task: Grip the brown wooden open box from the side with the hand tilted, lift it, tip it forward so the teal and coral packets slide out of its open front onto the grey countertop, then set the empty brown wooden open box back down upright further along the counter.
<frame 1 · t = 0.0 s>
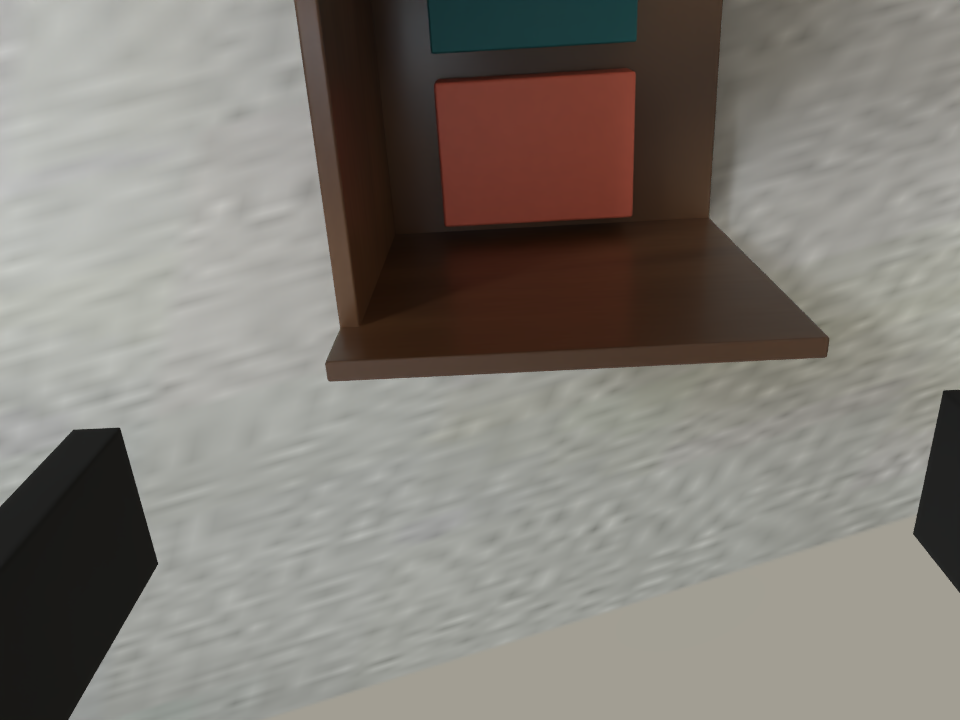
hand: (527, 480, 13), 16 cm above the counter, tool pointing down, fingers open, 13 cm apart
brown wooden open box: (546, 56, 25), on the counter, touching packet coral, packet teal
packet coral: (534, 146, 25), point 1 cm above the counter, touching brown wooden open box
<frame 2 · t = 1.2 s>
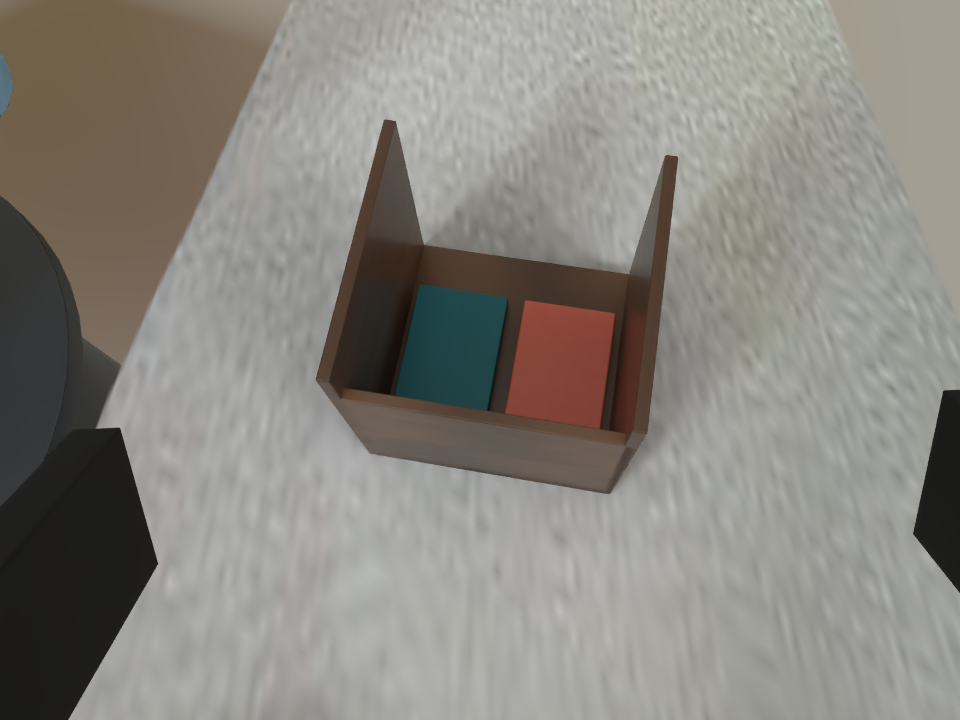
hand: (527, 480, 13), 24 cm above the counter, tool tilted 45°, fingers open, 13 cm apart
brown wooden open box: (508, 360, 39), on the counter, touching packet coral, packet teal
packet teal: (453, 356, 39), point 1 cm above the counter, touching brown wooden open box
packet coral: (559, 372, 38), point 1 cm above the counter, touching brown wooden open box
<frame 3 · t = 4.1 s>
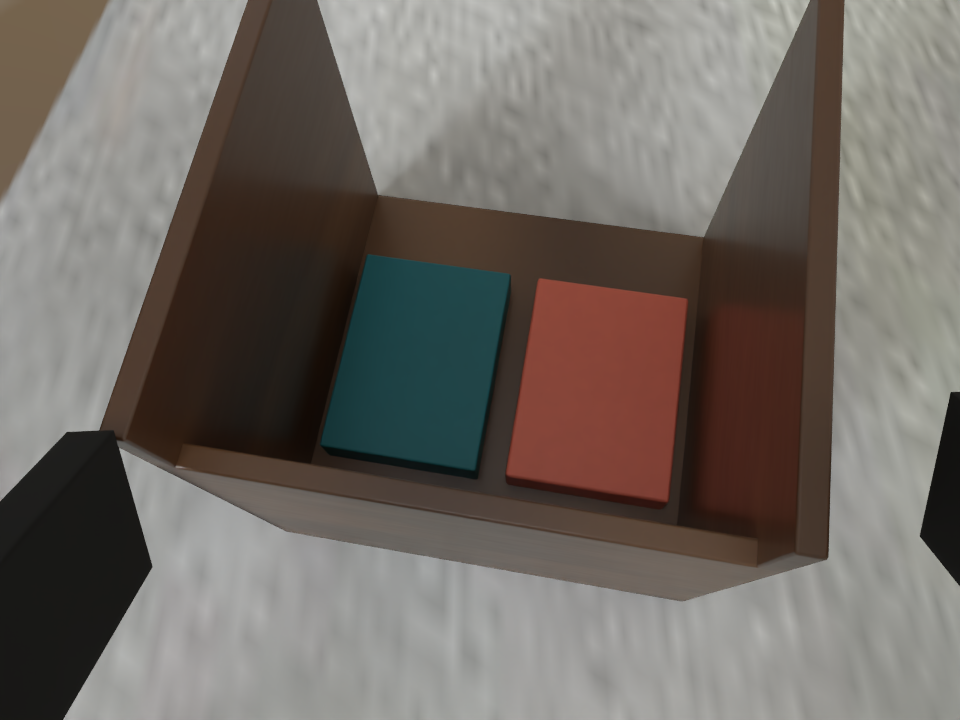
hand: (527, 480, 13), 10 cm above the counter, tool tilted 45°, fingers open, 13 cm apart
brown wooden open box: (511, 376, 24), on the counter, touching gripper, packet coral, packet teal
packet teal: (422, 370, 24), point 1 cm above the counter, touching brown wooden open box
packet coral: (596, 396, 23), point 1 cm above the counter, touching brown wooden open box
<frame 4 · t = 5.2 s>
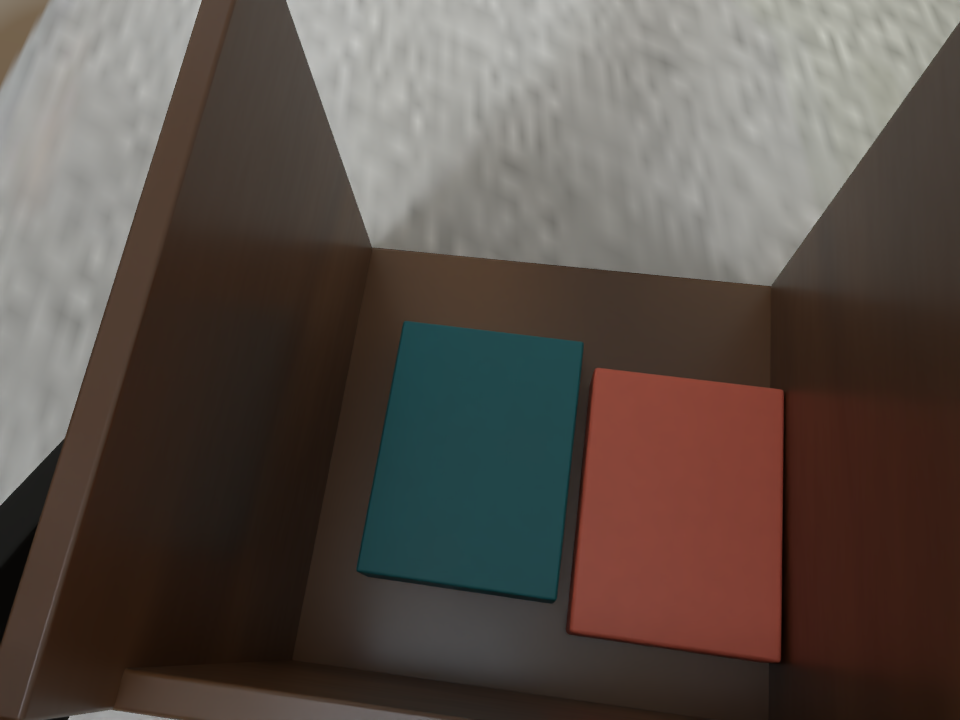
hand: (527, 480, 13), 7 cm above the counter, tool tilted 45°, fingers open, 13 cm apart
brown wooden open box: (546, 466, 20), on the counter, touching packet coral, packet teal
packet teal: (477, 462, 19), point 1 cm above the counter, touching brown wooden open box
packet coral: (671, 513, 19), point 1 cm above the counter, touching brown wooden open box
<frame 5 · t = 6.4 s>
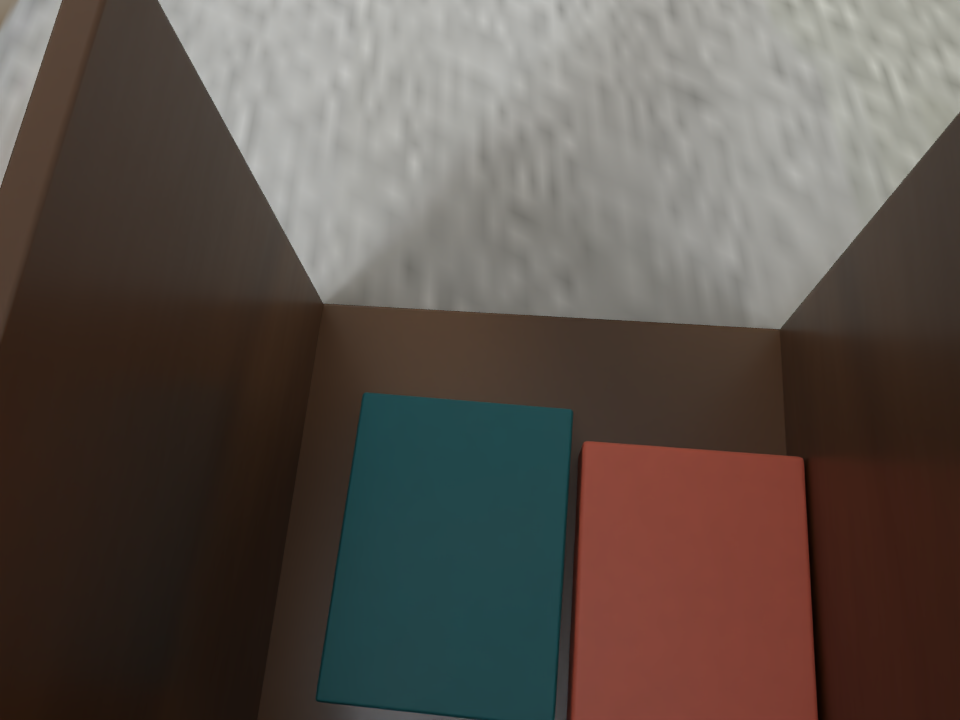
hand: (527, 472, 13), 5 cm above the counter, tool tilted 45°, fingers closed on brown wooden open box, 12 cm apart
brown wooden open box: (534, 550, 17), on the counter, touching gripper, packet coral, packet teal
packet teal: (455, 554, 17), point 1 cm above the counter, touching brown wooden open box
packet coral: (681, 606, 16), point 1 cm above the counter, touching brown wooden open box
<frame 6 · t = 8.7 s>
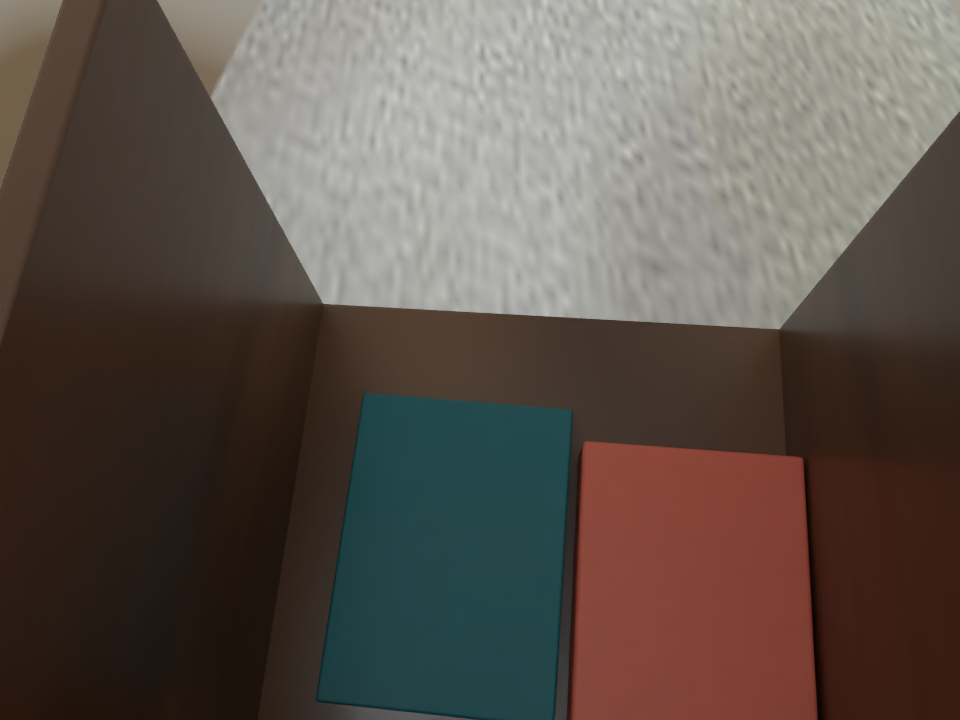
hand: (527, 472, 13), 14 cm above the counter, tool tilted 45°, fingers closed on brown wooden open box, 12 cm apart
brown wooden open box: (534, 550, 17), point 9 cm above the counter, touching gripper, packet coral, packet teal
packet teal: (455, 554, 17), point 10 cm above the counter, touching brown wooden open box
packet coral: (681, 606, 16), point 10 cm above the counter, touching brown wooden open box
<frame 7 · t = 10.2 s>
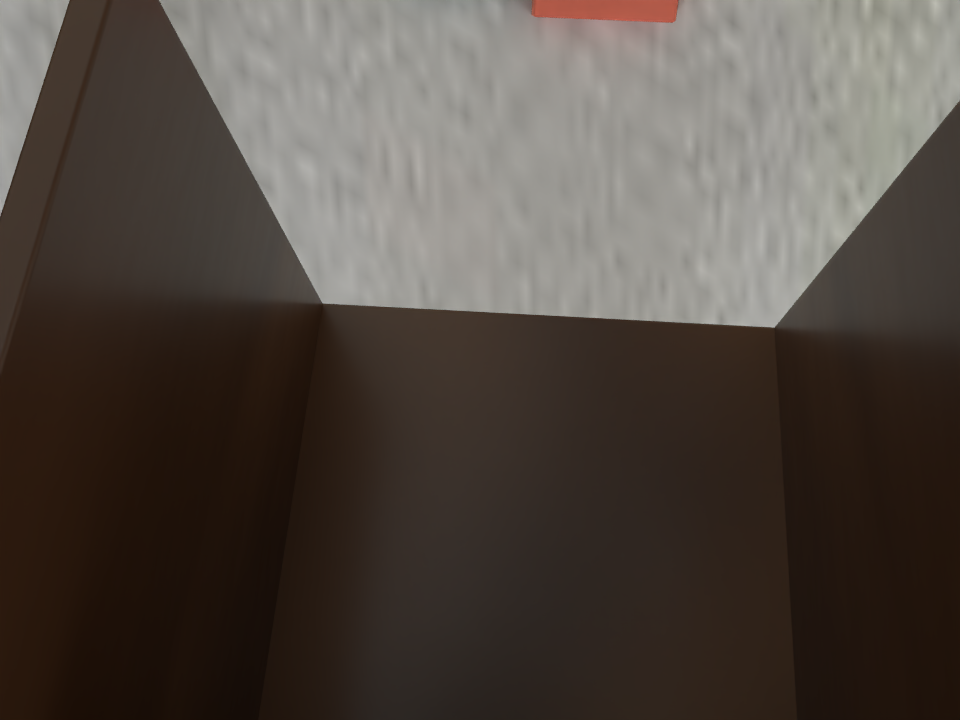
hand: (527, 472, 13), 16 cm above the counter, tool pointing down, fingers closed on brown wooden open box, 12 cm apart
brown wooden open box: (532, 547, 17), point 13 cm above the counter, tilted 45°, touching gripper
when the fingers open (5 cm above the counter, at t = 18.9 s): brown wooden open box stays where it is, on the counter.
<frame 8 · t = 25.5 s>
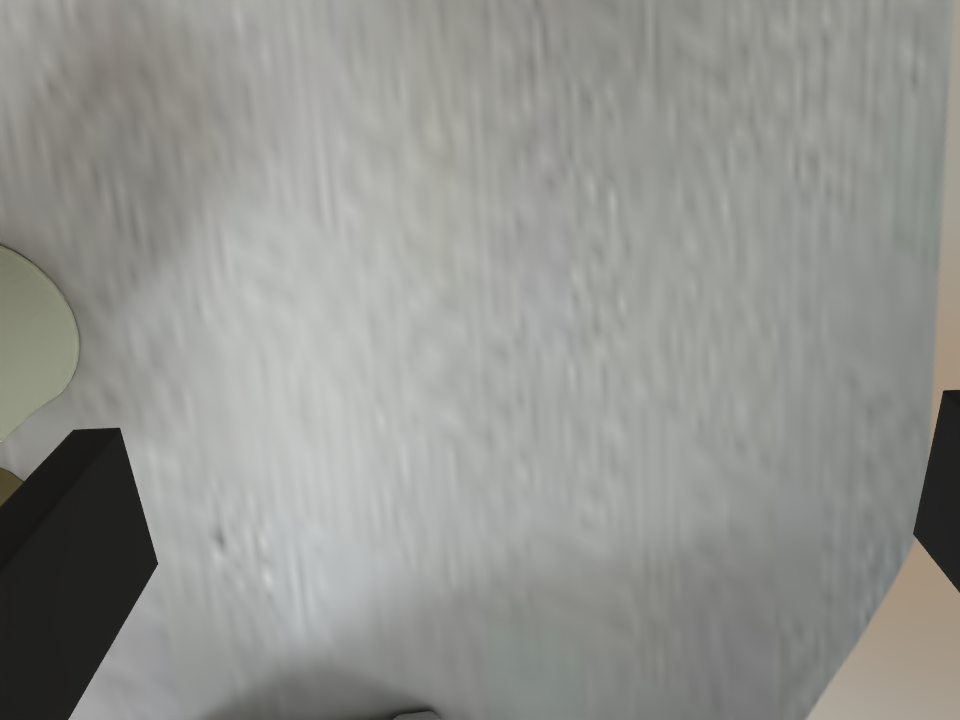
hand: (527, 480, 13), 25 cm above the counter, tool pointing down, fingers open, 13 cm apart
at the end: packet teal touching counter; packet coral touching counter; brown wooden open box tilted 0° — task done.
